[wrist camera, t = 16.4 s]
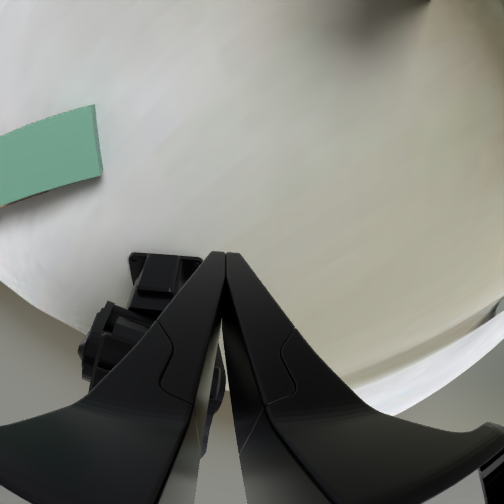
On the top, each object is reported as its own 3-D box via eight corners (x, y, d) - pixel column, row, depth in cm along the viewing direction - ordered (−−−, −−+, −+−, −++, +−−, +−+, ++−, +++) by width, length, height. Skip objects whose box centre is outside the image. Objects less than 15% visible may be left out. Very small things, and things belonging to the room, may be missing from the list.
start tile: (90, 105, 13) (-17, 144, 10) (100, 175, 16) (-1, 206, 13) (94, 104, 15) (-7, 139, 12) (102, 168, 18) (7, 197, 15)
